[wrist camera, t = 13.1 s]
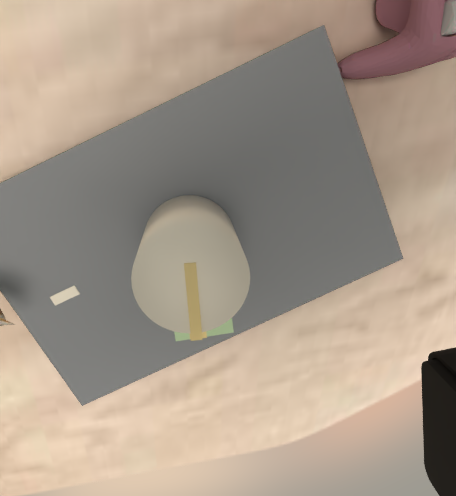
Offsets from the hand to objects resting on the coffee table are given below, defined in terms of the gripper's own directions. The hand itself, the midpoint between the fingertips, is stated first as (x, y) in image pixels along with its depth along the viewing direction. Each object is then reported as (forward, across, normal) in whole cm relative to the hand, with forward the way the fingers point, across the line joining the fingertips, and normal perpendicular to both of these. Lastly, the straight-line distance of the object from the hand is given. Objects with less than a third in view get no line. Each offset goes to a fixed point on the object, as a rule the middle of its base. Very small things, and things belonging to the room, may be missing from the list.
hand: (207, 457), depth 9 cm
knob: (+17, +1, +2) cm, 17 cm away
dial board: (+18, 0, 0) cm, 18 cm away
